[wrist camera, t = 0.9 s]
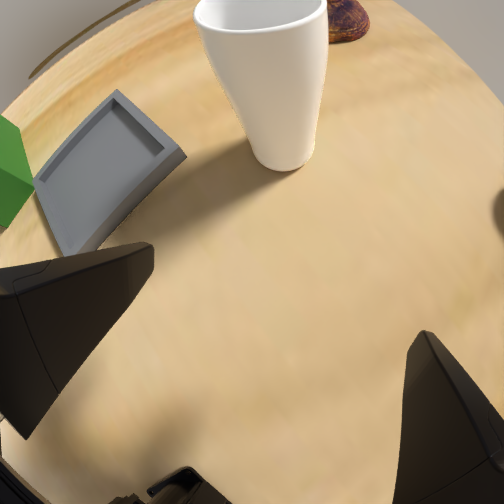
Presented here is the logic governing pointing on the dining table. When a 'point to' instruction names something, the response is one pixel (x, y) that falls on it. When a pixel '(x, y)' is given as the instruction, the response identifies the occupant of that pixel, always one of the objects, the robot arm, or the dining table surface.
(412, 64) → the dining table surface
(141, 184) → the serving tray
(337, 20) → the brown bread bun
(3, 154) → the hardback book
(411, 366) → the robot arm
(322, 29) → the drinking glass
